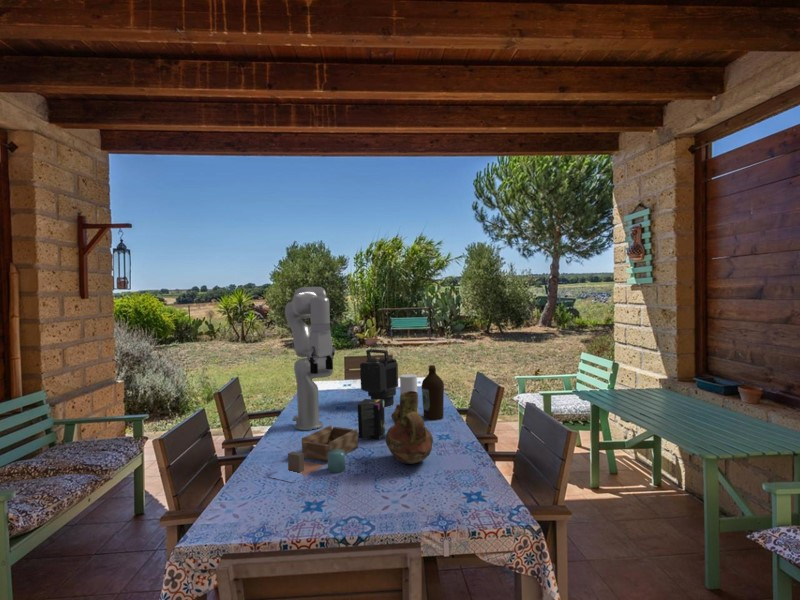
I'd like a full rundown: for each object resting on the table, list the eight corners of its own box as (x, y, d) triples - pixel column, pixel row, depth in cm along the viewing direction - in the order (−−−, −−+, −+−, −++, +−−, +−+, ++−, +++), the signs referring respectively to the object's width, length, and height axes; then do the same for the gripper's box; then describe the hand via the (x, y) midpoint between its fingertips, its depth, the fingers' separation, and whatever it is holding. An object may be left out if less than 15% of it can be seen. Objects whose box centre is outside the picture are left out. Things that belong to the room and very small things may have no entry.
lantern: (401, 402, 253) (399, 347, 252) (383, 410, 238) (381, 352, 237) (379, 399, 261) (377, 346, 260) (359, 407, 246) (357, 350, 245)
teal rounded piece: (324, 471, 159) (323, 454, 159) (334, 465, 165) (334, 448, 164) (338, 474, 157) (338, 456, 156) (348, 467, 162) (348, 450, 162)
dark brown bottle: (438, 413, 229) (436, 363, 228) (448, 418, 219) (447, 366, 219) (418, 416, 225) (417, 365, 224) (428, 421, 215) (427, 368, 214)
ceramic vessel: (415, 445, 183) (413, 382, 182) (447, 467, 159) (445, 395, 159) (374, 452, 176) (372, 387, 176) (401, 477, 152) (399, 401, 152)
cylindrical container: (406, 437, 193) (404, 377, 192) (398, 433, 199) (397, 375, 199) (421, 434, 196) (419, 376, 195) (413, 430, 202) (411, 373, 202)
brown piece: (300, 462, 170) (299, 444, 170) (323, 467, 164) (323, 448, 164) (267, 478, 156) (266, 458, 156) (292, 484, 150) (291, 464, 150)
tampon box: (379, 440, 191) (378, 404, 190) (358, 439, 193) (356, 404, 192) (385, 432, 201) (384, 398, 201) (365, 431, 203) (364, 398, 203)
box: (331, 443, 189) (330, 425, 188) (357, 447, 183) (357, 428, 182) (302, 458, 173) (301, 438, 173) (330, 463, 167) (329, 442, 167)
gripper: (326, 326, 192) (327, 367, 193) (298, 330, 177) (300, 374, 177) (341, 326, 189) (342, 368, 189) (314, 330, 174) (315, 375, 174)
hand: (322, 371), depth 183 cm, fingers open, 9 cm apart
